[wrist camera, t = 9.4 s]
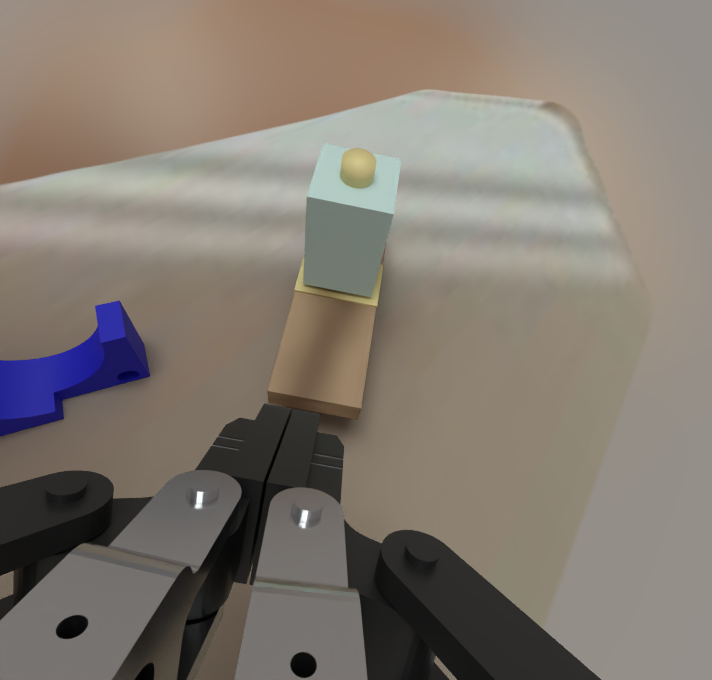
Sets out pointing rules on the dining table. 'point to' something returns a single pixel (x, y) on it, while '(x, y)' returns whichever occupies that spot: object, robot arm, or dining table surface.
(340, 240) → the block
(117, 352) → the cable clip
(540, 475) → the dining table surface
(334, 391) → the beam
